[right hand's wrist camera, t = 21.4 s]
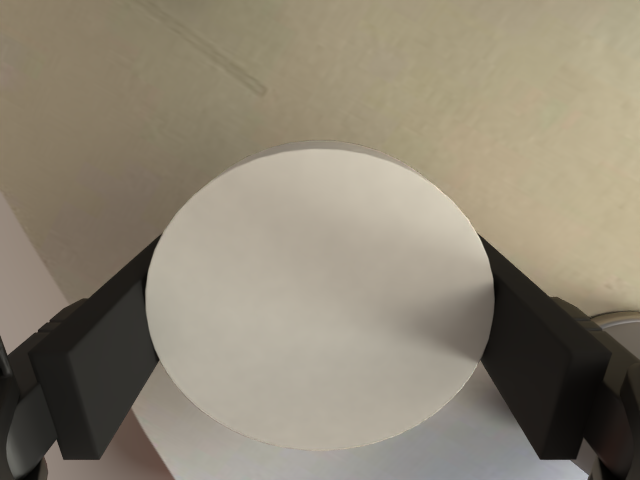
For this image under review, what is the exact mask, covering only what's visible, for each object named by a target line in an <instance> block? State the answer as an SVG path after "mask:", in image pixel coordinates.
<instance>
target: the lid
mask: <svg viewBox="0 0 640 480" xmlns="http://www.w3.org/2000/svg"><path fill="white" fill-rule="evenodd" d="M494 303H495V296H494V284H493V276H492V272H491V268H490V264H489V260H488V257H487V254H486V252H485V249H484V247H483V245H482V242H481V240H480V238H479V236H478V234H477V233H476V231H475V229H474V228H473V226H472V225H471V223H470V221H469V220H468V218H467V217H466V216H465V215H464V214H463V212H462V211H461V210H460V209H459V208H458V207H457V205H456V204H455V203H454V202H453V201H452V200H451V199H450V198H449V197H448V196H446V195H445V194H444V193H443V192H442V191H441V190H440V189H438V188H437V187H436V186H435V185H434V184H433V183H431V182H430V181H429V180H428V179H426V178H425V177H424V176H423V175H421V174H420V173H419V172H417V171H416V170H414V169H413V168H411V167H410V166H408V165H407V164H405V163H404V162H402V161H400V160H398V159H396V158H394V157H392V156H390V155H388V154H385V153H383V152H381V151H378V150H375V149H372V148H368V147H365V146H362V145H359V144H353V143H346V142H340V141H325V140H310V141H301V142H291V143H287V144H283V145H279V146H274V147H270V148H267V149H265V150H262V151H260V152H257V153H254V154H252V155H249V156H247V157H245V158H244V159H242V160H240V161H238V162H237V163H235V164H233V165H231V166H229V167H228V168H227V169H225V170H224V171H223V172H221V173H220V174H219V175H218V176H216V177H215V178H214V179H212V180H211V181H210V182H209V183H207V184H206V185H205V186H204V187H202V188H201V189H200V190H199V191H197V192H196V193H195V194H194V195H193V196H192V197H191V198H190V199H189V200H188V201H187V202H186V203H185V204H184V205H183V206H182V207H181V208H180V209H179V210H178V211H177V213H176V214H175V216H174V217H173V218H172V220H171V221H170V223H169V224H168V226H167V227H166V228H165V230H164V232H163V234H162V236H161V238H160V240H159V242H158V244H157V246H156V248H155V250H154V253H153V256H152V260H151V263H150V266H149V269H148V275H147V282H146V289H145V310H146V316H147V321H148V326H149V332H150V336H151V340H152V343H153V346H154V349H155V351H156V353H157V355H158V357H159V359H160V361H161V364H162V366H163V367H164V369H165V370H166V372H167V373H168V375H169V376H170V378H171V379H172V381H173V382H174V384H175V385H176V386H177V387H178V388H179V389H180V391H181V392H182V393H183V394H184V395H185V396H186V397H187V398H188V399H189V400H190V401H191V402H192V403H193V404H194V405H195V406H196V407H198V408H199V409H200V410H201V411H202V412H204V413H205V414H207V415H208V416H209V417H211V418H212V419H213V420H215V421H216V422H218V423H220V424H222V425H223V426H225V427H227V428H229V429H230V430H232V431H235V432H237V433H239V434H241V435H244V436H246V437H248V438H251V439H254V440H257V441H260V442H263V443H266V444H270V445H275V446H279V447H284V448H290V449H299V450H313V451H329V450H342V449H349V448H355V447H361V446H366V445H369V444H373V443H376V442H380V441H383V440H386V439H388V438H391V437H394V436H396V435H399V434H401V433H403V432H405V431H407V430H409V429H411V428H413V427H415V426H417V425H418V424H420V423H422V422H423V421H425V420H426V419H428V418H429V417H431V416H432V415H434V414H435V413H436V412H437V411H438V410H440V409H441V408H442V407H443V406H445V405H446V404H447V403H448V402H449V401H450V400H451V399H452V398H453V397H454V396H455V395H456V394H457V393H458V392H459V391H460V389H461V388H462V387H463V386H464V384H465V383H466V382H467V380H468V379H469V378H470V376H471V375H472V374H473V372H474V370H475V368H476V366H477V365H478V363H479V361H480V359H481V357H482V355H483V353H484V350H485V347H486V345H487V342H488V340H489V335H490V330H491V325H492V320H493V314H494Z"/></svg>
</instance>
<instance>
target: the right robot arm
mask: <svg viewBox="0 0 640 480" xmlns="http://www.w3.org/2000/svg"><path fill="white" fill-rule="evenodd" d="M476 233H477V232H476ZM162 234H163V233H162ZM162 234H161V235H160V236H158V237H157V238H156V239H155V240H154V241H153V242H152V243H151V244H149V245H148V246H147V247H146V248H145V249H144V250H143V251H142V252H140V253H139V254H138V255H137V256H136V257H135V258H134V259H132V260H131V261H130V262H129V263H128V264H127V265H126V266H125V267H123V268H122V269H121V270H120V271H119V272H118V273H117V274H116V275H114V276H113V277H112V278H111V279H110V280H109V281H108V282H107V283H105V284H104V285H103V286H102V287H101V288H100V289H99V290H98V291H96V292H95V293H94V294H93V295H92V296H91V297H90V298H89V299H81V300H79V301H77V302H75V303H73V304H71V305H69V306H67V307H66V308H64V309H62V310H61V311H60V312H59V313H58V314H56V315H55V316H54V317H53V318H52V319H51V320H50V322H49V323H46V324H45V325H43V326H42V327H41V328H40V329H39V330H38V333H34V334H33V335H31V336H30V337H29V338H28V339H27V340H26V341H24V342H23V343H22V344H21V345H20V346H18V347H17V348H16V349H15V350H14V351H12V352H11V353H10V354H9V355H8V356H7V353H6V350H5V347H4V345H3V342H2V339H1V336H0V480H47V476H48V469H47V463H46V460H45V458H44V455H45V454H46V452H47V451H48V450H49V448H50V447H51V446H52V444H53V443H54V442H55V441H56V439H57V442H58V445H59V448H60V451H61V454H62V457H63V459H64V460H99V459H100V458H101V456H102V455H103V453H104V451H105V450H106V448H107V446H108V445H109V443H110V441H111V440H112V438H113V436H114V435H115V433H116V431H117V430H118V428H119V426H120V425H121V423H122V421H123V420H124V418H125V416H126V415H127V413H128V411H129V410H130V408H131V406H132V405H133V403H134V401H135V400H136V398H137V396H138V395H139V393H140V391H141V390H142V388H143V386H144V385H145V383H146V382H147V380H148V378H149V377H150V375H151V373H152V372H153V370H154V368H155V367H156V365H157V363H158V362H159V360H160V359H159V357H158V355H157V353H156V351H155V349H154V346H153V343H152V340H151V336H150V332H149V326H148V321H147V316H146V310H145V289H146V282H147V275H148V269H149V266H150V263H151V260H152V256H153V253H154V250H155V248H156V246H157V244H158V242H159V240H160V238H161V236H162ZM477 234H478V233H477ZM478 236H479V238H480V240H481V242H482V245H483V247H484V249H485V252H486V254H487V257H488V260H489V264H490V268H491V272H492V276H493V284H494V296H495V303H494V314H493V320H492V325H491V330H490V335H489V340H488V342H487V345H486V347H485V350H484V353H483V355H482V357H481V359H480V360H481V362H482V364H483V365H484V367H485V369H486V370H487V372H488V374H489V375H490V377H491V379H492V380H493V382H494V384H495V385H496V387H497V389H498V390H499V392H500V394H501V395H502V397H503V399H504V400H505V402H506V404H507V405H508V407H509V409H510V410H511V412H512V414H513V415H514V417H515V419H516V420H517V422H518V424H519V425H520V427H521V429H522V430H523V432H524V434H525V435H526V437H527V439H528V440H529V442H530V444H531V445H532V447H533V449H534V450H535V452H536V454H537V455H538V457H539V458H540V460H571V461H572V462H573V463H575V464H576V465H577V466H578V467H579V468H581V469H582V470H583V471H584V472H586V473H587V474H588V475H589V477H588V480H640V312H617V313H610V314H605V315H601V316H597V317H594V318H591V319H590V318H589V317H588V316H587V315H585V314H584V313H583V312H582V311H581V310H579V309H578V308H577V307H575V306H573V305H571V304H569V303H567V302H566V301H564V300H562V299H560V298H558V297H549V296H548V295H547V294H546V293H544V292H543V291H542V290H541V289H540V288H539V287H538V286H537V285H535V284H534V283H533V282H532V281H531V280H530V279H529V278H528V277H526V276H525V275H524V274H523V273H522V272H521V271H520V270H519V269H517V268H516V267H515V266H514V265H513V264H512V263H511V262H509V261H508V260H507V259H506V258H505V257H504V256H503V255H502V254H500V253H499V252H498V251H497V250H496V249H495V248H494V247H493V246H491V245H490V244H489V243H488V242H487V241H486V240H485V239H484V238H482V237H481V236H480V235H479V234H478Z"/></svg>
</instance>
